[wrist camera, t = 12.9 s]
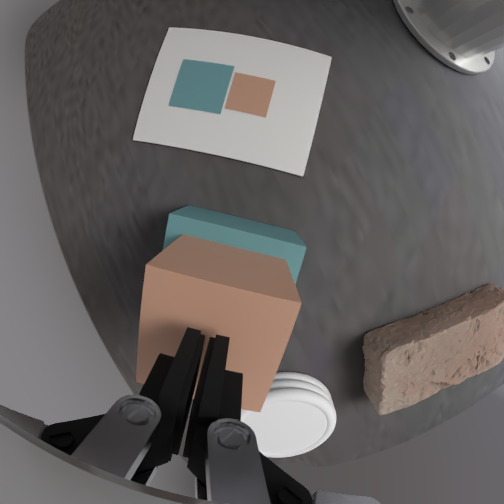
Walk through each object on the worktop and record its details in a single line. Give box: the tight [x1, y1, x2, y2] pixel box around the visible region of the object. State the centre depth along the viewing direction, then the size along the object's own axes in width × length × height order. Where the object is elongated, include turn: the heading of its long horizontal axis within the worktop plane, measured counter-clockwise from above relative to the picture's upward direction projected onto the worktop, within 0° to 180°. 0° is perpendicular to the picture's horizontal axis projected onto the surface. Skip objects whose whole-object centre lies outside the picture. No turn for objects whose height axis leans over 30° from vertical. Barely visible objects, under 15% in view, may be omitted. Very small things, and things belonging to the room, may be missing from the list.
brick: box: [363, 284, 504, 415], centre depth 22 cm, size 16×8×5 cm, turn 104°
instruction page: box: [133, 27, 332, 177], centre depth 18 cm, size 10×13×1 cm
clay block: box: [136, 234, 302, 412], centre depth 14 cm, size 6×6×6 cm
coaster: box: [241, 372, 336, 458], centre depth 24 cm, size 10×10×4 cm
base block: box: [163, 205, 307, 284], centre depth 19 cm, size 8×8×5 cm
